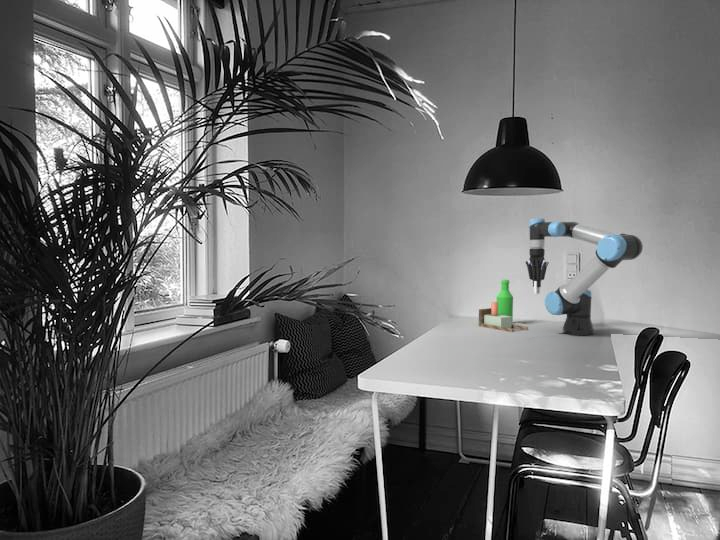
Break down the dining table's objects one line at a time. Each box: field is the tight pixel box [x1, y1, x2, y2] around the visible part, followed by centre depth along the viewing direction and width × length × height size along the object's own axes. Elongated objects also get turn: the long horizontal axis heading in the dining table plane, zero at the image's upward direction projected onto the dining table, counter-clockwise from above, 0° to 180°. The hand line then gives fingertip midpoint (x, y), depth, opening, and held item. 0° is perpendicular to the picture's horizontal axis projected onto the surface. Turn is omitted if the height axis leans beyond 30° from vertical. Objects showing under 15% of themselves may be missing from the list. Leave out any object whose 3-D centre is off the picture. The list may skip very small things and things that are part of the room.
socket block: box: [484, 314, 513, 329], centre depth 337 cm, size 12×8×6 cm, turn 35°
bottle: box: [496, 279, 514, 321], centre depth 353 cm, size 9×9×25 cm
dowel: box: [490, 301, 498, 316], centre depth 339 cm, size 3×3×12 cm
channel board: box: [478, 307, 529, 333], centre depth 334 cm, size 23×12×10 cm, turn 35°
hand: (536, 293), depth 332 cm, fingers closed
